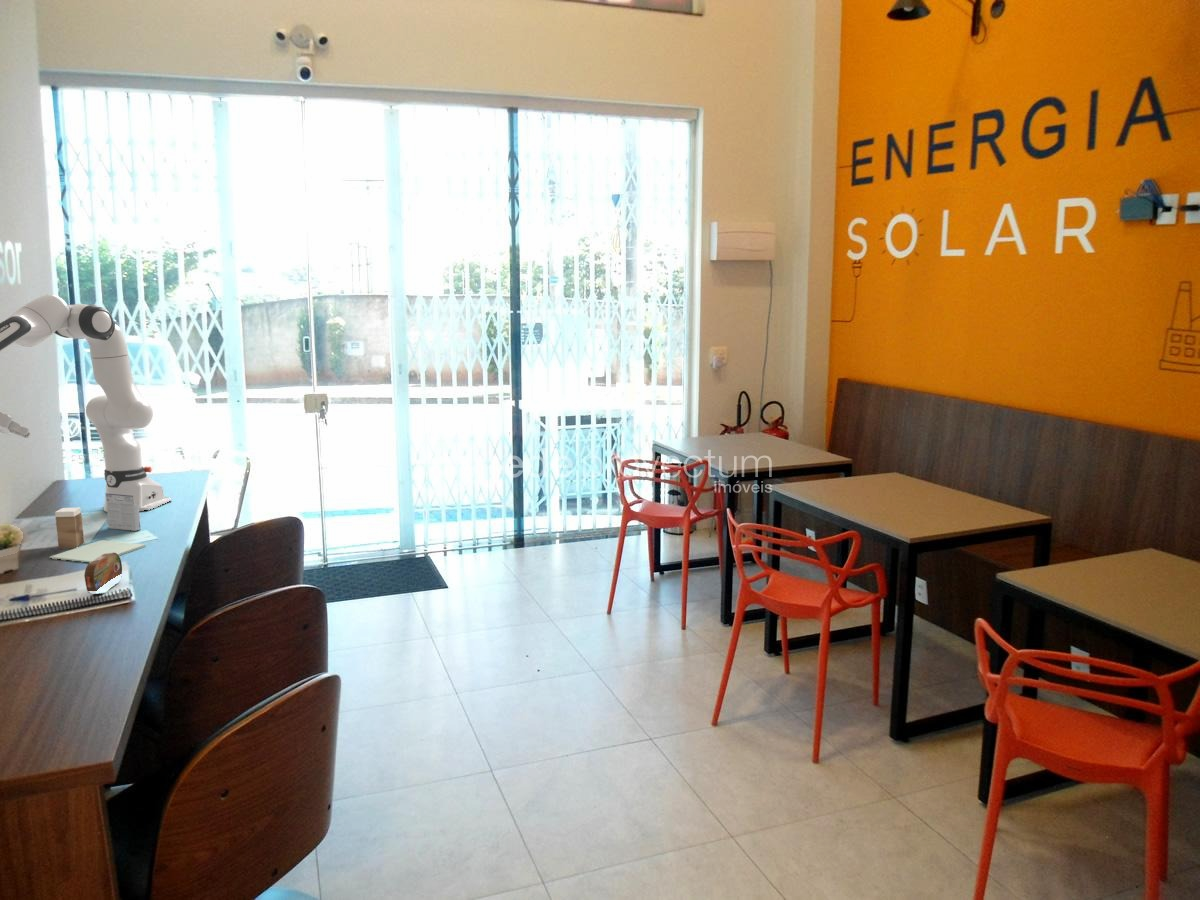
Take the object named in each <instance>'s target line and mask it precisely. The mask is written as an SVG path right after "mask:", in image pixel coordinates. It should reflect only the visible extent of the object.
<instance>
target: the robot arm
mask: <svg viewBox="0 0 1200 900" xmlns="http://www.w3.org/2000/svg"><path fill="white" fill-rule="evenodd" d="M53 334H56V335H57V336H59V337H62V338H65V339H66V338H67V339H69V338H70V339H77V340H78V339H79V340H84V339H85V340H86V341H87V343H88V346H89V353H90V359H91V365H92V371H93V376H94V380H95V382H96V383H97V385H99V386H100V387H101V389H102V390H103V392H104V395H100V396H96V397H93V398H91V399H90V400H89V401H88V402H87V403H86V404H87V405H86V406H85V414H86V417H87V419H88V420H89V421H90V423H92V424H93V426H94V427H95V429H96V432H97V434H98V436H99V437H98V438H100V439H99V440H100V442H101V444H102V449H103V455H104V456H103V457H104V467H105V469H104V470H103V471H104V472H103V473H104V474H103V475H104V480H105V483H106V484H105V493H108V494H119V495H130V496H133V502H134V504H139V512H143V511H144V510H148V511H151V510H154V509H155V508H159V507H160V505H161V506H163V505H162V504H164V505H166V504H168V503H167V502H169V501H171V500H172V501H173V499H172V498H171V497H170V496H169V497H168V496H165V493H164V488H163V486H162V485H161V484H160V483H159V482H156V480H153V479H152V478H150V477H148V475H147V473H151V472H152V471H153V468H152V466H147V465H146V466H144V467H143V464H142V453H141V445H140V443H139V442H138V440H137V439H135V437H134V435H133V433H132V431H134V430H139V429H143V428H146V427H148V426H149V425H150V424H151V421H152V420H153V414H154V413H153V408H152V406H151V404H149V403H148V402H147V401H146V400H145V399H144V397H143V396H142V394H141V392H140V391H139V389H138V387H137V385H136V382H135V380H134V377H133V374H132V367H131V363H130V362H131V361H130V357H129V351H128V346H127V343H126V342H127V341H126V339H125V336H124V334H123V331H122V328H121V327H120V326H119V325H118V324H116V323H115V321H114V318H113V316H112V314H111V313H110V311H109V310H108V309H107V308H105V307H103V306H100V305H98V304H85V303H75V304H68V303H67V302H66V301H65V300H64V299H63V298H62V297H61V296H58V295H56V294H53V293H52V294H51V293H48V294H44V295H42V296H39V297H37V298H35V299H33V300H31V301H30V302H28V303H26V304H24V305H23V306H21V307H20V308H19V309H17V310H16V311H15V312H13V313H12V314H11V315H9V317H8V318H7V319H5V320H3V321H1V322H0V353H1V352H2V351H4V350H5V349H7V348H8V347H10V346H11V345H13V344H14V343H15V344H17V345H19V346H22V347H26V348H30V347H31V348H32V347H34V346H37V345H39V344H40V343H42V342H44V341H46V340H47V339H48V338H50V336H52V335H53ZM131 430H132V431H131ZM0 433H2V434H6V435H12V434H14V435H17V436H20V437H23V438H24V439H29V437H31V433H30V431H29V428H26V427H25V426H23V425H21V424H19V423H18V422H17V421H15V420H14V417H13V416H12V415H9V414H7V413H5V412H3V411H2V410H0ZM116 500H123V499H122V498H120V497H119V498H116ZM172 501H171V502H172ZM165 503H166V504H165ZM169 503H170V502H169ZM158 506H159V507H158ZM153 508H154V509H153ZM150 509H151V510H150ZM103 511H104V512H105V513H107V501H106V495H105V497H104V503H103ZM144 512H145V511H144Z"/></svg>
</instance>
